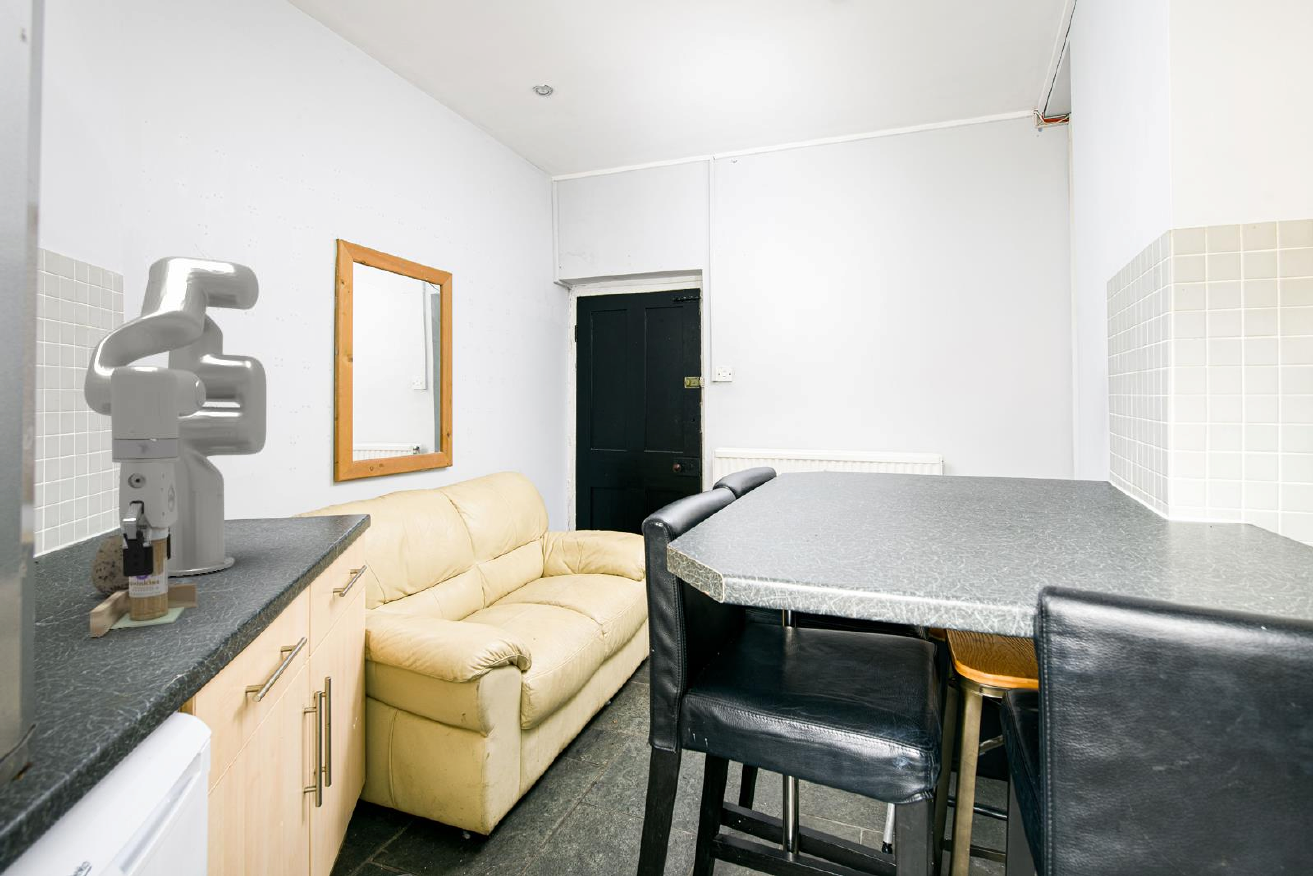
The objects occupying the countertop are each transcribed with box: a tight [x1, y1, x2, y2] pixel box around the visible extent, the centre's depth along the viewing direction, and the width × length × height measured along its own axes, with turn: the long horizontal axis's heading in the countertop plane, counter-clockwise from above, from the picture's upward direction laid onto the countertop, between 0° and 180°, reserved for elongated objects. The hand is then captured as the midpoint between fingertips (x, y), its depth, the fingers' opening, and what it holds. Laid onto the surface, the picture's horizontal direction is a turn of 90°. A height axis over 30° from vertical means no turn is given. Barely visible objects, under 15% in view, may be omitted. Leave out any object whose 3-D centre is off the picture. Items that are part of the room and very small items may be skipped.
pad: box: [110, 607, 186, 630], centre depth 89 cm, size 7×7×1 cm
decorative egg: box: [90, 534, 129, 596], centre depth 101 cm, size 6×6×10 cm
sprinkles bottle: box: [129, 527, 169, 620], centre depth 89 cm, size 5×5×13 cm
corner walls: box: [89, 582, 198, 638], centre depth 89 cm, size 12×10×4 cm
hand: (148, 567), depth 89 cm, fingers open, 9 cm apart
